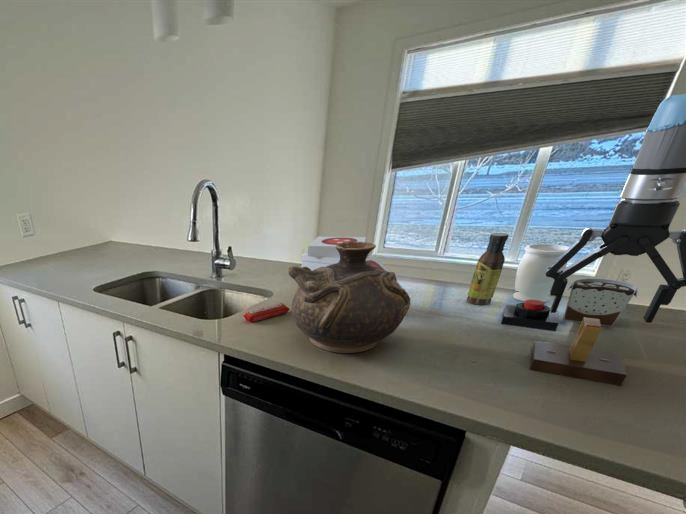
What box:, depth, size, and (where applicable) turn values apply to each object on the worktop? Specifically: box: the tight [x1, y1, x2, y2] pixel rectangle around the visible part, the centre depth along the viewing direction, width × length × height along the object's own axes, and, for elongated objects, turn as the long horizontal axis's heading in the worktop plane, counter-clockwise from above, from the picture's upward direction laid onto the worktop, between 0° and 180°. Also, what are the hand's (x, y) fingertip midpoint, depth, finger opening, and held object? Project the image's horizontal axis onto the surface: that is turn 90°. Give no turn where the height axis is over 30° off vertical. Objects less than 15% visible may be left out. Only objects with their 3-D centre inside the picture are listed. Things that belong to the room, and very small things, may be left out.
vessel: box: [287, 241, 411, 354], centre depth 101 cm, size 27×28×25 cm
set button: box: [523, 300, 546, 310], centre depth 105 cm, size 4×4×2 cm
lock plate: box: [529, 340, 628, 387], centre depth 86 cm, size 14×11×3 cm
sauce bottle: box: [466, 232, 509, 306], centre depth 117 cm, size 6×6×20 cm
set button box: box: [500, 302, 559, 332], centre depth 107 cm, size 11×10×4 cm
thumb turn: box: [569, 317, 603, 362], centre depth 83 cm, size 6×2×8 cm, turn 142°
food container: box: [562, 278, 639, 328], centre depth 103 cm, size 12×6×10 cm, turn 48°
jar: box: [512, 243, 571, 303], centre depth 117 cm, size 11×10×15 cm
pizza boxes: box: [301, 235, 406, 291], centre depth 129 cm, size 19×30×18 cm, turn 41°
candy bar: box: [242, 302, 291, 323], centre depth 125 cm, size 16×4×3 cm, turn 114°
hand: (597, 315), depth 81 cm, fingers open, 13 cm apart
